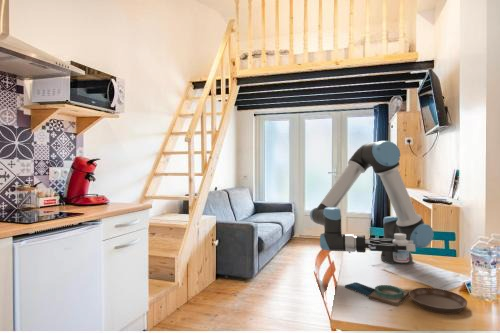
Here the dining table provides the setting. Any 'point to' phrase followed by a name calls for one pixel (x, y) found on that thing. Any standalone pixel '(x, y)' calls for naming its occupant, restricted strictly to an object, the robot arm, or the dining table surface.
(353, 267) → the dining table surface
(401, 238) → the pill bottle
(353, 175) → the robot arm
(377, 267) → the dining table surface
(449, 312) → the plant saucer
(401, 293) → the holder board
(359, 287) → the smartphone
